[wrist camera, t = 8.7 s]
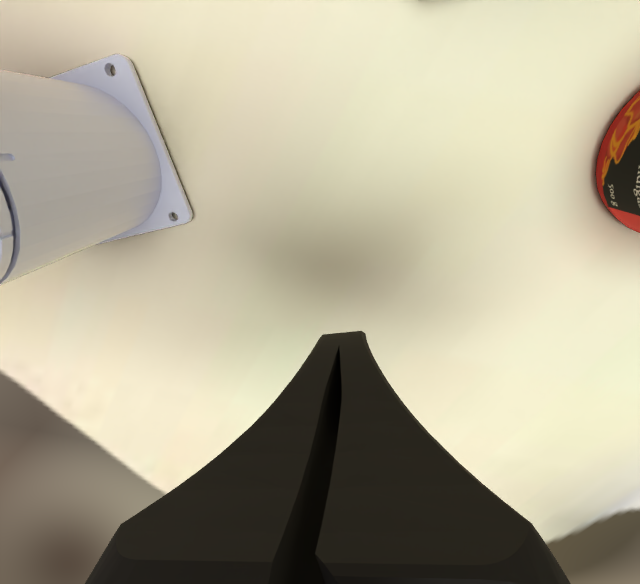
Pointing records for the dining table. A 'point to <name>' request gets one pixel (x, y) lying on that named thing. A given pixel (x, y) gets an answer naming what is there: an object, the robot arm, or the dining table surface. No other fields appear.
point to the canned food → (622, 166)
